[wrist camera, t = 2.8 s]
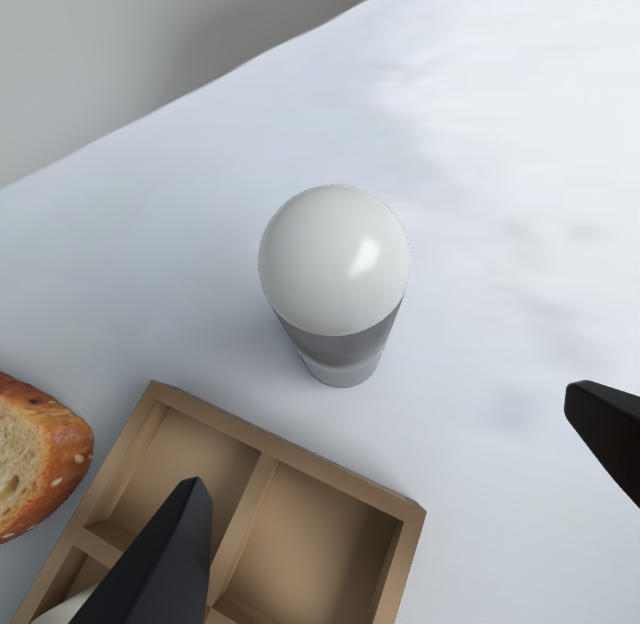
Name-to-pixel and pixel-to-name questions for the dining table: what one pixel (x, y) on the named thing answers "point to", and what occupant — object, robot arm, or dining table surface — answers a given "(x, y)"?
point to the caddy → (238, 522)
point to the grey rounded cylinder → (336, 278)
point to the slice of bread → (37, 455)
